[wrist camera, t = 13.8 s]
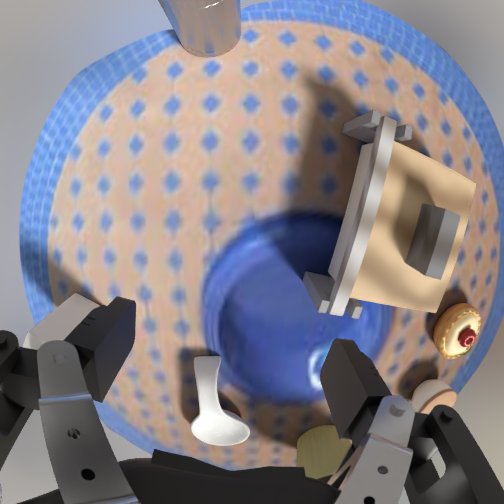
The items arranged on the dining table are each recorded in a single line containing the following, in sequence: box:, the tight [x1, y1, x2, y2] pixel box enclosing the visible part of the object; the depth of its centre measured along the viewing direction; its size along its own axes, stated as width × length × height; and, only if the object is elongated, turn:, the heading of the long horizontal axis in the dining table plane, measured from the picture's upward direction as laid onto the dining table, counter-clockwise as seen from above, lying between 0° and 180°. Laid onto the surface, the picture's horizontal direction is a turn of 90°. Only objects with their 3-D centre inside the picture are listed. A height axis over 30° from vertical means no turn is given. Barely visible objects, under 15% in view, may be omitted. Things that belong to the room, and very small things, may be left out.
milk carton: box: [23, 293, 100, 350], centre depth 35 cm, size 7×7×19 cm
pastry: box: [433, 303, 481, 359], centre depth 43 cm, size 12×12×9 cm
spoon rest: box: [191, 356, 250, 445], centre depth 46 cm, size 24×12×7 cm, turn 5°
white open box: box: [303, 110, 413, 319], centre depth 36 cm, size 25×20×10 cm
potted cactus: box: [297, 425, 351, 483], centre depth 40 cm, size 15×15×30 cm
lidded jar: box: [411, 379, 457, 414], centre depth 47 cm, size 11×11×9 cm
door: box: [327, 116, 476, 316], centre depth 30 cm, size 25×18×6 cm
